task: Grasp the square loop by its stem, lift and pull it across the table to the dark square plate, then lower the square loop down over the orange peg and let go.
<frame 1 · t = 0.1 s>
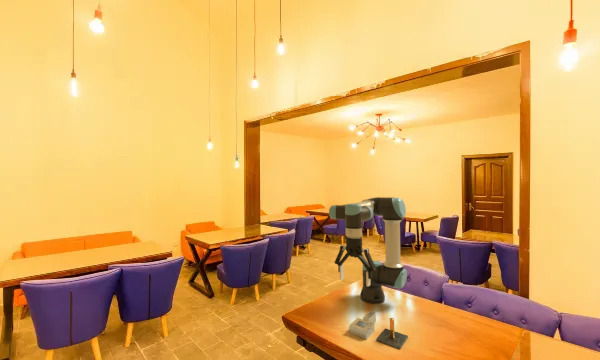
hand: (354, 282, 126), 28 cm above the table, fingers open, 13 cm apart
peg on square plate: (392, 339, 128), on the table
square loop with stem: (362, 332, 134), on the table
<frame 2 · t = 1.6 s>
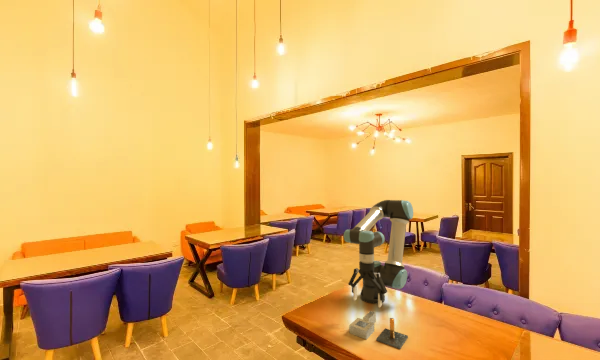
hand: (367, 302, 139), 12 cm above the table, fingers open, 13 cm apart
nothing on the table moved.
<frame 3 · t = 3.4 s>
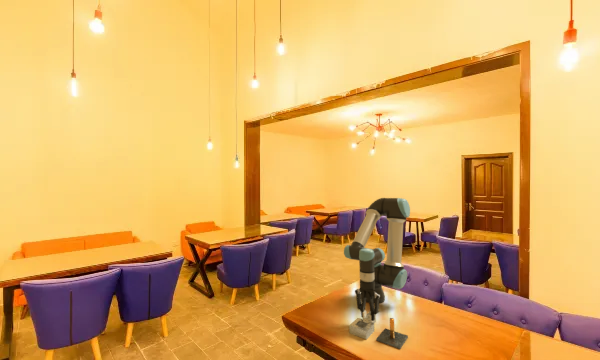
hand: (368, 325, 140), 1 cm above the table, fingers closed on square loop with stem, 3 cm apart
square loop with stem: (362, 332, 134), on the table, touching gripper
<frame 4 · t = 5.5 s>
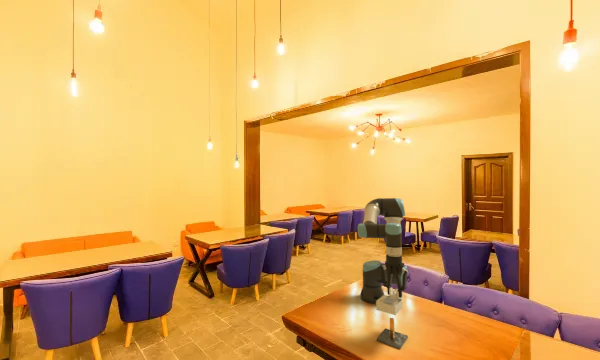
hand: (394, 302, 133), 15 cm above the table, fingers closed on square loop with stem, 3 cm apart
square loop with stem: (389, 308, 128), point 14 cm above the table, touching gripper
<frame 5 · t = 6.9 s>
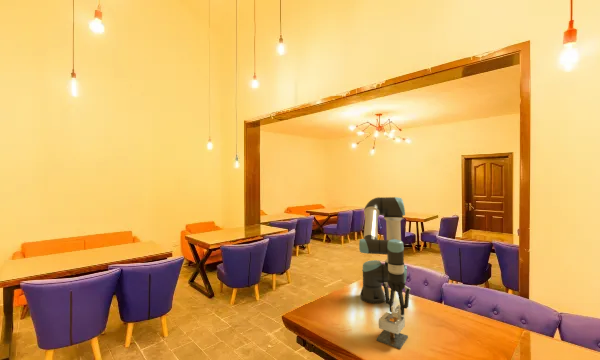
hand: (397, 319, 133), 6 cm above the table, fingers closed on square loop with stem, 3 cm apart
square loop with stem: (391, 327, 128), point 6 cm above the table, touching gripper
when the fingers open (3 cm above the table, at t = 7.7 s): square loop with stem drops 1 cm, resting on peg on square plate.
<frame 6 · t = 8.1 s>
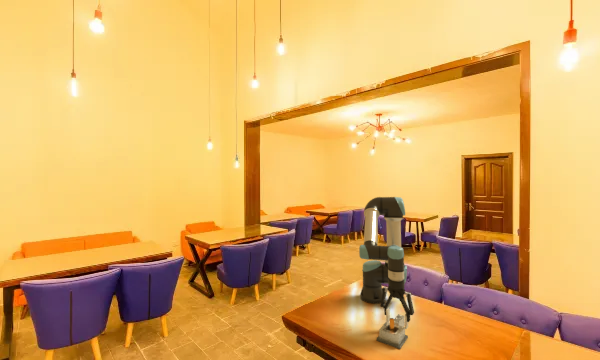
hand: (397, 324, 133), 4 cm above the table, fingers open, 8 cm apart
square loop with stem: (392, 337, 128), point 1 cm above the table, touching peg on square plate
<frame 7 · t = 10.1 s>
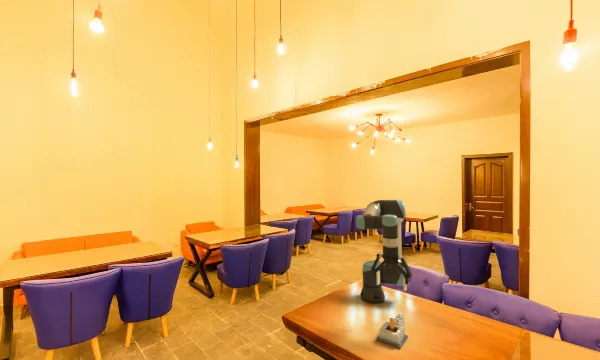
hand: (391, 287, 138), 21 cm above the table, fingers open, 13 cm apart
nothing on the table moved.
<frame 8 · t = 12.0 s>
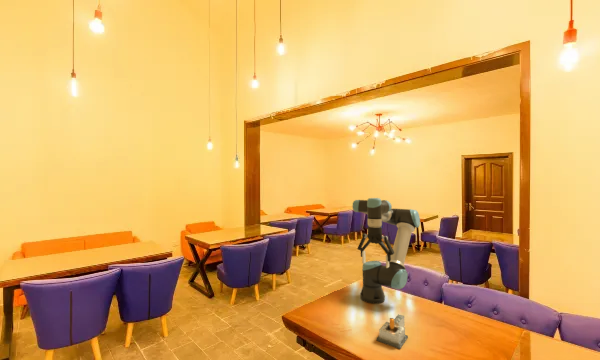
hand: (375, 265, 148), 29 cm above the table, fingers open, 13 cm apart
nothing on the table moved.
at the end: square loop with stem 0.1 cm off-centre on the peg on square plate, point 1.0 cm above the peg on square plate's base; the gripper is holding nothing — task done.
